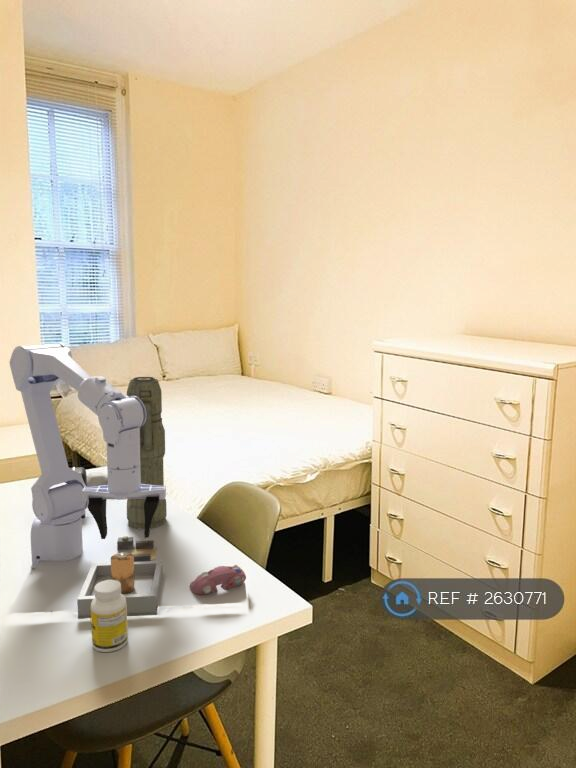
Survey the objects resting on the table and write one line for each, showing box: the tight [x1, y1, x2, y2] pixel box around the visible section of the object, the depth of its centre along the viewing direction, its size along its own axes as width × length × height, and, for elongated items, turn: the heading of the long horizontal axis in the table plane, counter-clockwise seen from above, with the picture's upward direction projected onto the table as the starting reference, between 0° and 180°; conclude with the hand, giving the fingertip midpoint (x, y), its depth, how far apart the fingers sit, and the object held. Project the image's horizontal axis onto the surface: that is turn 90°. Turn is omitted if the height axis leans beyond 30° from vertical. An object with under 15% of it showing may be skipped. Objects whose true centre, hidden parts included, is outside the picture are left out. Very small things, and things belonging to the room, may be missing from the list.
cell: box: [110, 551, 135, 594], centre depth 107 cm, size 4×4×8 cm
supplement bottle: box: [90, 579, 129, 653], centre depth 93 cm, size 5×5×10 cm
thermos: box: [126, 376, 168, 530], centre depth 135 cm, size 9×12×35 cm
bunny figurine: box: [86, 471, 108, 487], centre depth 160 cm, size 10×5×15 cm
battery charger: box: [70, 466, 87, 519], centre depth 144 cm, size 7×4×11 cm, turn 18°
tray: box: [76, 560, 164, 619], centre depth 108 cm, size 13×13×4 cm
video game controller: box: [188, 564, 247, 595], centre depth 109 cm, size 10×5×7 cm, turn 119°
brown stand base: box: [116, 535, 157, 562], centre depth 121 cm, size 12×10×4 cm
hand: (125, 536), depth 109 cm, fingers open, 7 cm apart
